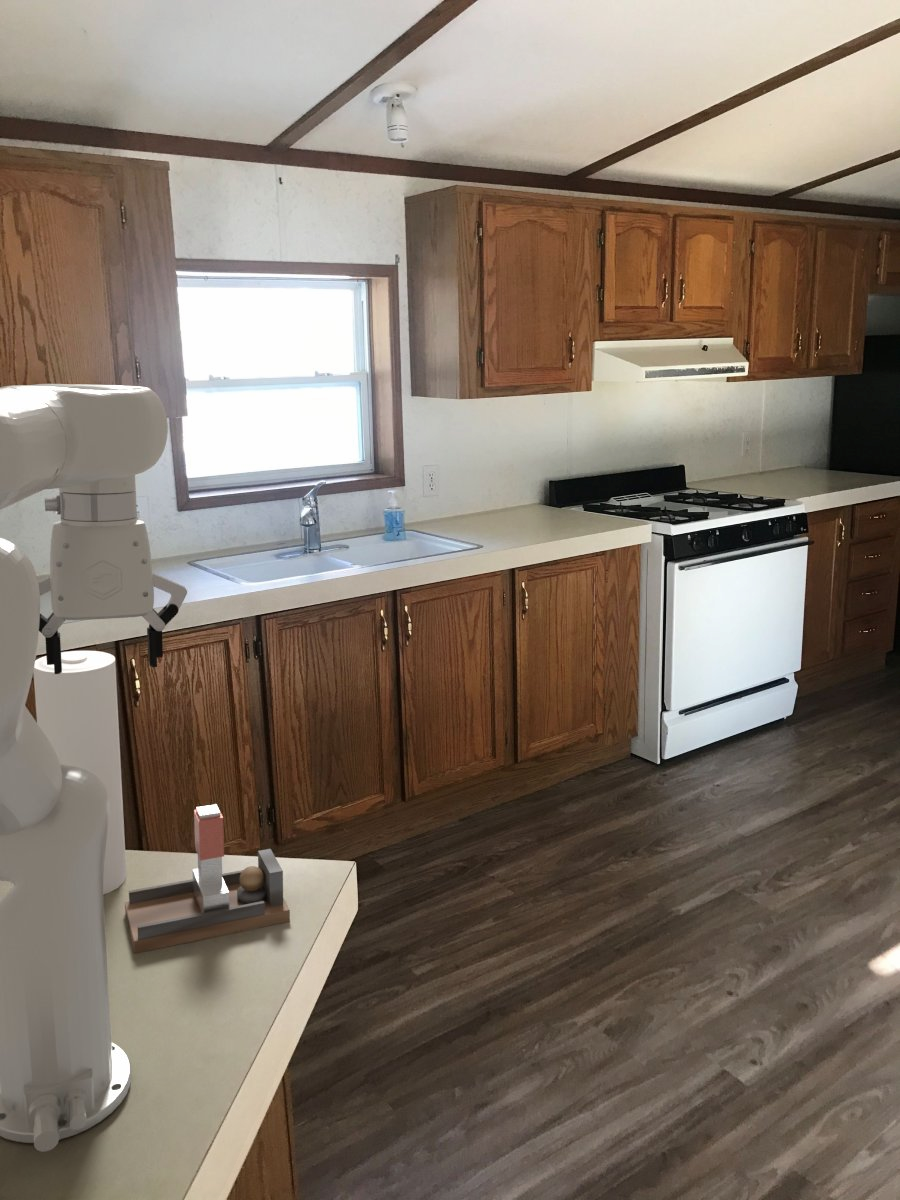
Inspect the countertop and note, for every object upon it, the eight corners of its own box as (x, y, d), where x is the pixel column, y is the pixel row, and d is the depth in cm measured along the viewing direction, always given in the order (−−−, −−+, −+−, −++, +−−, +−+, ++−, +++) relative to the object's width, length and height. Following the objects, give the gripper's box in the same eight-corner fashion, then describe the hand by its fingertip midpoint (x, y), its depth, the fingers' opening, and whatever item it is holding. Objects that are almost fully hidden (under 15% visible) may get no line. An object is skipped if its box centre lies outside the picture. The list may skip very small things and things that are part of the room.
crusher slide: (229, 915, 115) (227, 820, 112) (203, 920, 114) (200, 824, 111) (217, 886, 121) (215, 796, 118) (193, 891, 120) (190, 800, 117)
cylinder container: (33, 894, 122) (16, 665, 115) (74, 858, 131) (60, 644, 124) (102, 903, 120) (89, 671, 113) (139, 866, 129) (129, 649, 122)
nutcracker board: (289, 921, 117) (289, 876, 116) (134, 953, 110) (132, 905, 109) (271, 885, 125) (270, 843, 124) (125, 913, 118) (123, 868, 117)
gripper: (6, 514, 95) (17, 683, 98) (188, 511, 101) (192, 670, 104) (9, 506, 102) (20, 664, 105) (180, 504, 108) (184, 653, 111)
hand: (106, 667), depth 105 cm, fingers open, 9 cm apart
